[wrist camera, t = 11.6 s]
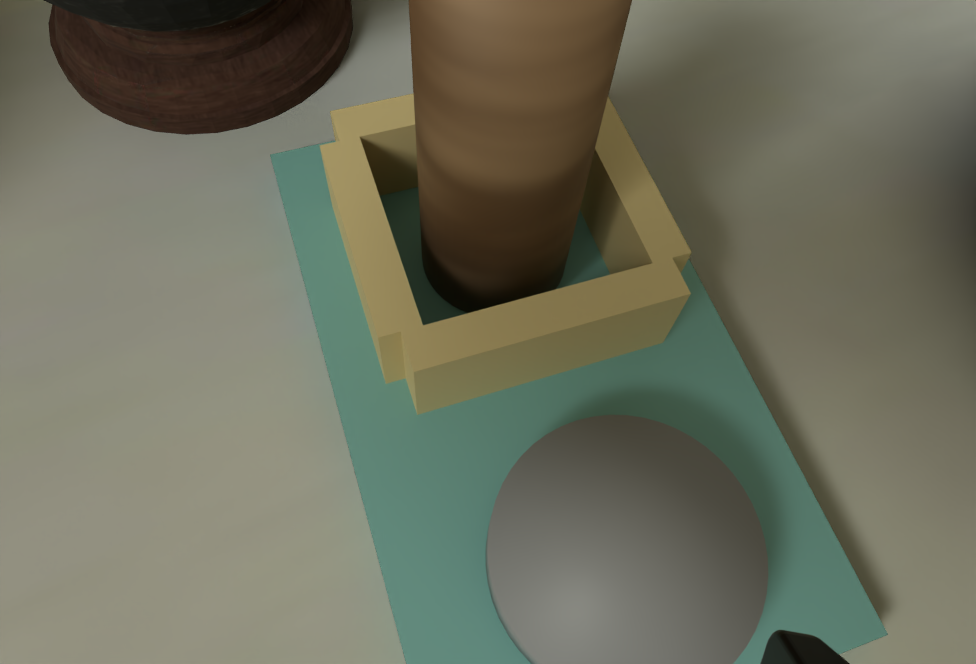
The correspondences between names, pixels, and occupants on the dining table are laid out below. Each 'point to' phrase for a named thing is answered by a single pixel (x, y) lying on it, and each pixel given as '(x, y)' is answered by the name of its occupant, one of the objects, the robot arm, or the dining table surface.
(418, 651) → the carrier plate
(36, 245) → the dining table surface
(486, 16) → the walnut dowel
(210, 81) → the black ball on stand
